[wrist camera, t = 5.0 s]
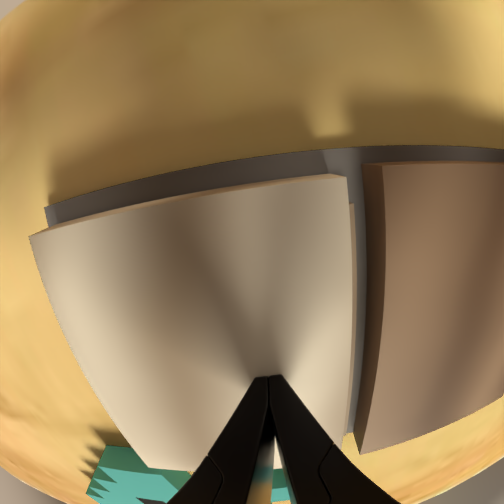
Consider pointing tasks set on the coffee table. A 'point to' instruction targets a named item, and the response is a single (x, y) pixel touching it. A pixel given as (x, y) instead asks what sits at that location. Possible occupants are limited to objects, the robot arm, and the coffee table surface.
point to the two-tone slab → (392, 272)
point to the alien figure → (147, 480)
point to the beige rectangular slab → (209, 307)
